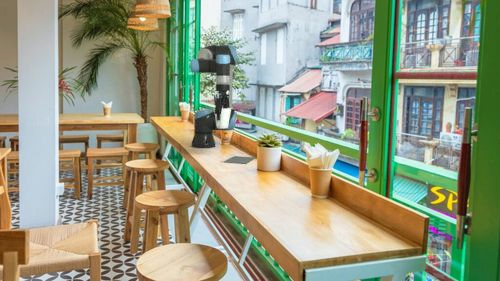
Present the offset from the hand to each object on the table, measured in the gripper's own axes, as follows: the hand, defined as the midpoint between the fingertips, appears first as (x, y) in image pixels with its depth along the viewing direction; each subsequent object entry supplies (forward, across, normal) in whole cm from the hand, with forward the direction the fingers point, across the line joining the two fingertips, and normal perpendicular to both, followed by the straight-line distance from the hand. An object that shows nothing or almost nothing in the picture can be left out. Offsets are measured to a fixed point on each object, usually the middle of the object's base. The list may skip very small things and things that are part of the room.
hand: (222, 125), depth 250 cm
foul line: (+18, -2, -4) cm, 19 cm away
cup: (+2, 0, 0) cm, 2 cm away
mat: (+18, -3, -12) cm, 22 cm away
